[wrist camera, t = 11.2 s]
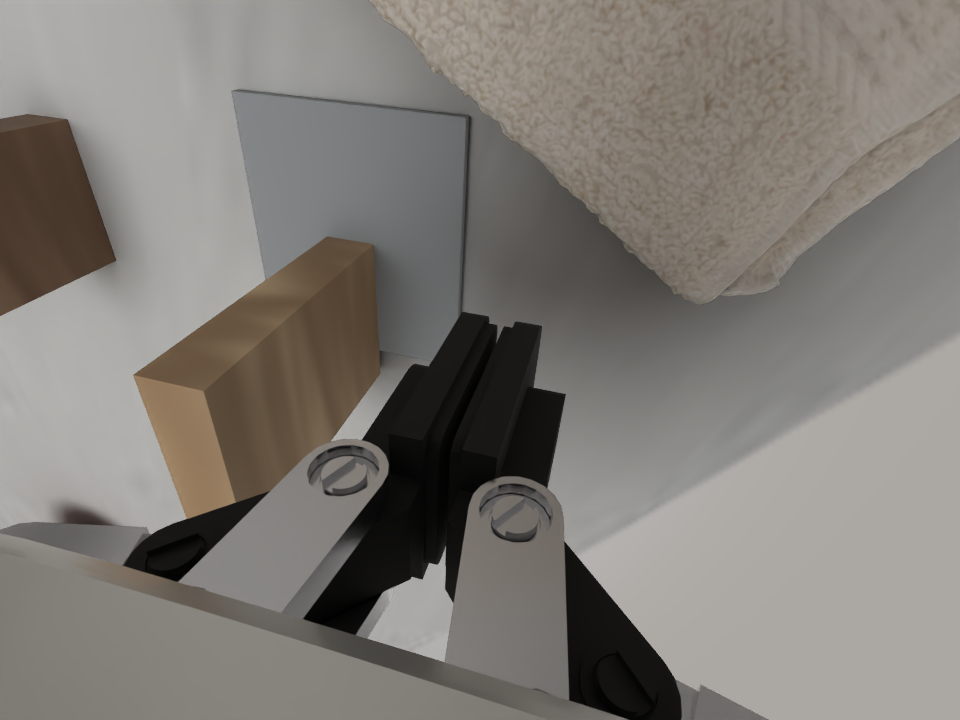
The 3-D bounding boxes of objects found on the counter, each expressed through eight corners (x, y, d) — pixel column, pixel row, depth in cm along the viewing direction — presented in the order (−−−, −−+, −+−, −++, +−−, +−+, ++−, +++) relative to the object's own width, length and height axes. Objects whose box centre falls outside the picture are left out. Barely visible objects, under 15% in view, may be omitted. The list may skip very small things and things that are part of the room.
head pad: (469, 115, 14) (466, 117, 14) (458, 361, 19) (455, 366, 19) (238, 89, 16) (231, 90, 15) (279, 326, 20) (274, 330, 20)
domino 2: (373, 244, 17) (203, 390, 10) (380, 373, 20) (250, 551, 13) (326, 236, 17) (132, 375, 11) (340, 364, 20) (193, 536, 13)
